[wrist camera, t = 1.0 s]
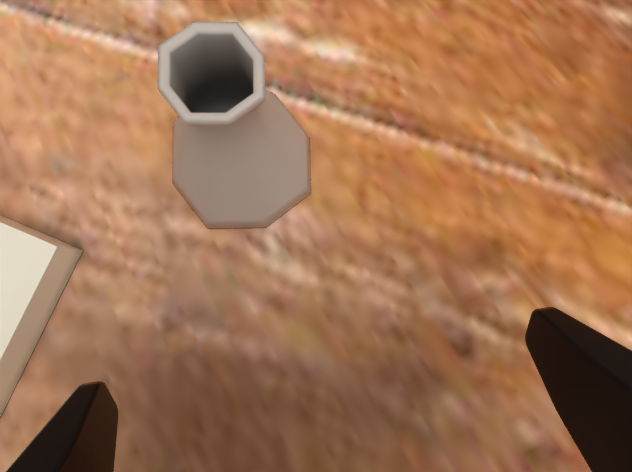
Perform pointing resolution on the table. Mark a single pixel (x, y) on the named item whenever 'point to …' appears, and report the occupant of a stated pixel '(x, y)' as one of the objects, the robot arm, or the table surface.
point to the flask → (230, 129)
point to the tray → (27, 294)
